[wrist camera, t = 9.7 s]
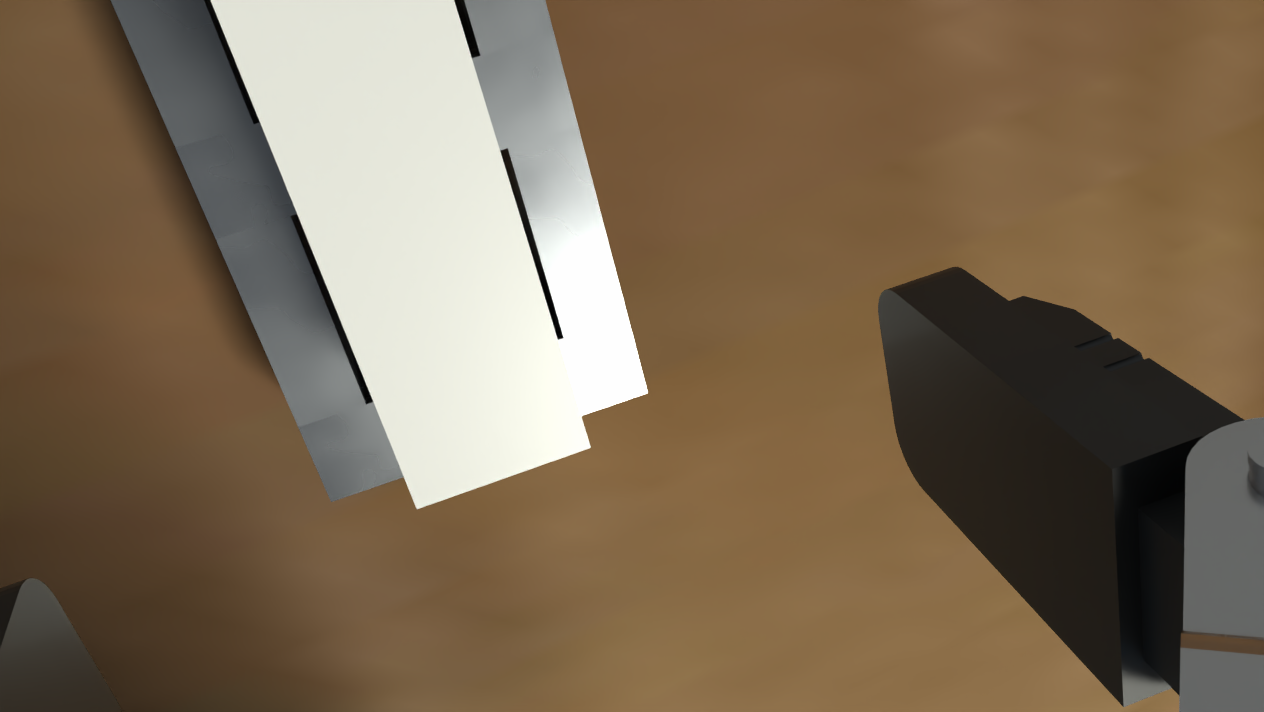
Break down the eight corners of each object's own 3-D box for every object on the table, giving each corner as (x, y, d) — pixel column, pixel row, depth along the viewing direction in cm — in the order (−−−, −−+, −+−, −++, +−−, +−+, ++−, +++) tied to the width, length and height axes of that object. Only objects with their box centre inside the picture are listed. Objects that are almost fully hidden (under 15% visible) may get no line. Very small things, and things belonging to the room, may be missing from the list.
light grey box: (520, 295, 27) (590, 447, 21) (385, 340, 27) (417, 509, 21) (373, -170, 22) (410, -145, 16) (205, -123, 22) (179, -78, 16)
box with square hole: (608, 326, 29) (647, 392, 26) (325, 421, 28) (331, 502, 25) (430, -330, 22) (455, -345, 19) (48, -231, 21) (9, -229, 18)
